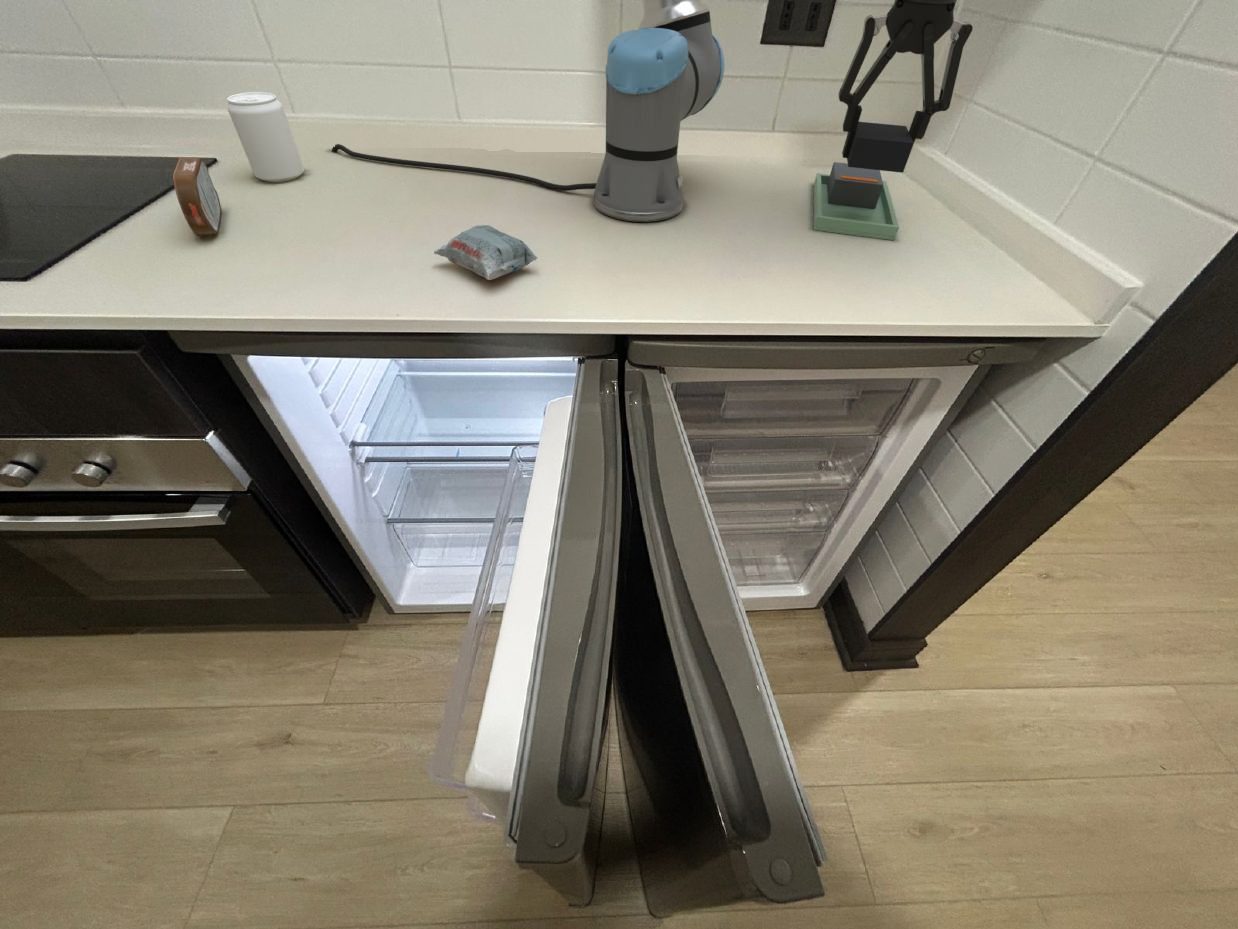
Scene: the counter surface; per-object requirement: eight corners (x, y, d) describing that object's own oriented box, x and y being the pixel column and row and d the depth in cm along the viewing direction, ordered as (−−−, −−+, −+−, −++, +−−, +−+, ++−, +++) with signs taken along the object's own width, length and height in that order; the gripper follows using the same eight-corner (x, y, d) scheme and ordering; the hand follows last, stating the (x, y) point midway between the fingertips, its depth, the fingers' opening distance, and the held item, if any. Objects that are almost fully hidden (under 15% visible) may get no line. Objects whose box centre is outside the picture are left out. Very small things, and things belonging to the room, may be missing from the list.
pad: (828, 203, 97) (835, 178, 94) (827, 184, 104) (834, 160, 101) (875, 209, 96) (884, 183, 93) (871, 190, 102) (879, 165, 99)
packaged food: (491, 294, 72) (486, 258, 68) (435, 265, 77) (428, 229, 74) (539, 273, 77) (537, 238, 73) (484, 246, 82) (480, 212, 78)
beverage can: (315, 174, 100) (289, 96, 91) (274, 187, 95) (242, 106, 86) (287, 164, 103) (259, 88, 94) (246, 176, 98) (212, 97, 89)
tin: (205, 207, 88) (177, 149, 82) (227, 204, 89) (201, 147, 83) (197, 246, 79) (164, 183, 73) (222, 243, 80) (191, 181, 74)
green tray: (893, 240, 88) (899, 227, 87) (813, 229, 90) (817, 216, 89) (882, 193, 103) (886, 181, 102) (813, 184, 105) (816, 172, 103)
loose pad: (848, 166, 84) (856, 137, 81) (845, 148, 90) (853, 120, 87) (903, 172, 83) (914, 142, 80) (896, 154, 89) (906, 125, 86)
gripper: (854, -41, 69) (805, 158, 85) (1034, -32, 66) (947, 173, 82) (851, -45, 74) (805, 144, 90) (1018, -36, 71) (939, 158, 87)
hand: (873, 158), depth 86 cm, fingers closed on loose pad, 8 cm apart
